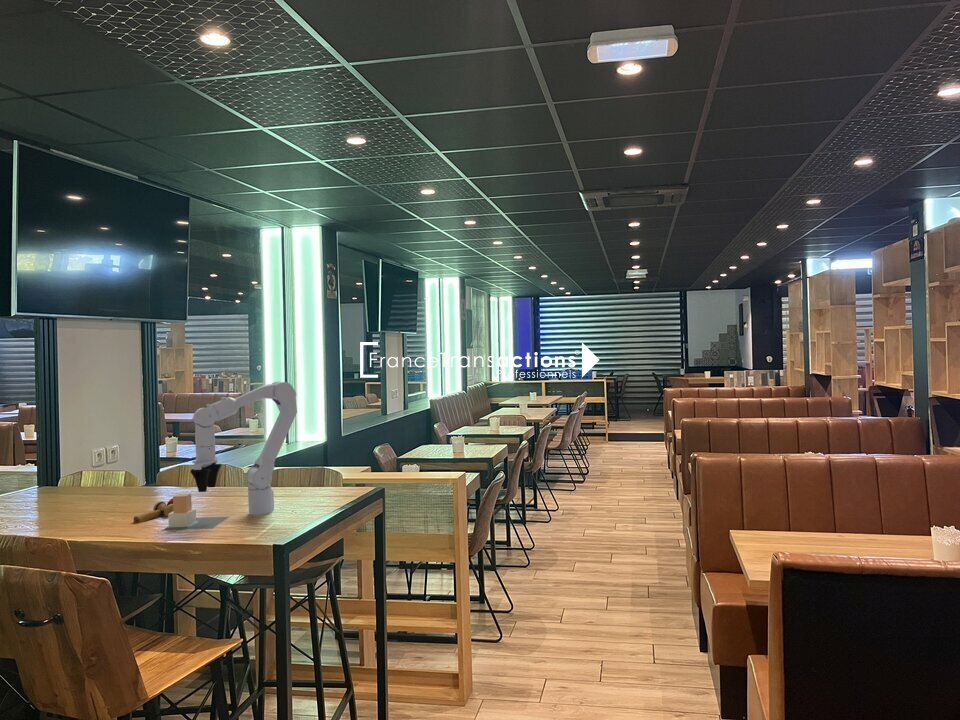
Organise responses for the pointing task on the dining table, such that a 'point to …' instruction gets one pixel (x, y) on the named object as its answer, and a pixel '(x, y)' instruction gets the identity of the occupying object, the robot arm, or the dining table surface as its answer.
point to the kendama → (156, 511)
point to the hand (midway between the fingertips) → (207, 489)
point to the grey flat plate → (201, 523)
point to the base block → (182, 518)
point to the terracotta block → (182, 503)
